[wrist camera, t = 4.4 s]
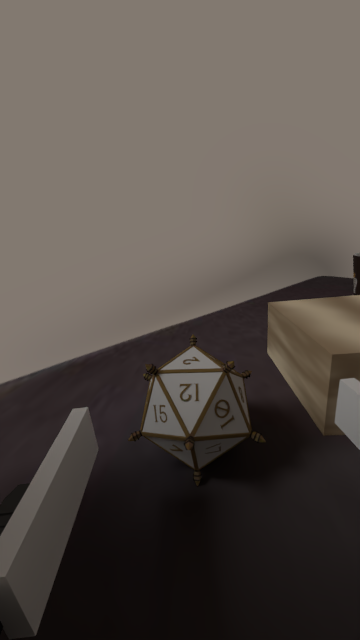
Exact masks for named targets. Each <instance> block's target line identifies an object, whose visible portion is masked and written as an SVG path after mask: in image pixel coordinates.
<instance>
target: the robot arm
mask: <svg viewBox="0 0 360 640" xmlns="http://www.w3.org/2000/svg"><path fill="white" fill-rule="evenodd" d="M335 424H336V425H337V426H338V427H339V428H340V429H341V430H342V431H343V432H344V433H345V435H346V436H347V437H348V438H349V439H350V440H351V441H352V442H353V443H354V444H355V445H356V447H357V448H358V449H359V450H360V382H359V381H358V380H357V379H355V378H348V379H340V382H339V390H338V398H337V406H336V415H335ZM98 450H99V449H98V445H97V441H96V437H95V433H94V429H93V425H92V421H91V417H90V413H89V410H88V407H86V408H77V409H73V410H72V412H71V413H70V415H69V417H68V418H67V420H66V422H65V424H64V425H63V427H62V429H61V431H60V432H59V434H58V436H57V438H56V439H55V441H54V443H53V445H52V446H51V448H50V450H49V452H48V453H47V455H46V457H45V459H44V460H43V462H42V464H41V466H40V467H39V469H38V471H37V473H36V474H35V476H34V478H33V480H32V481H31V483H29V484H20V485H18V486H17V487H16V488H15V489H14V490H13V491H12V492H11V493H10V494H9V495H8V496H7V497H6V498H5V499H4V500H3V502H2V504H1V505H0V633H1V631H2V629H3V630H4V631H5V633H6V635H7V636H8V638H9V639H15V638H23V637H31V636H36V634H37V631H38V628H39V625H40V622H41V619H42V616H43V613H44V610H45V607H46V604H47V601H48V598H49V595H50V592H51V589H52V586H53V583H54V580H55V577H56V574H57V571H58V568H59V565H60V562H61V559H62V556H63V553H64V550H65V548H66V545H67V542H68V539H69V536H70V533H71V530H72V527H73V524H74V521H75V518H76V515H77V512H78V509H79V506H80V503H81V500H82V497H83V494H84V491H85V488H86V485H87V482H88V479H89V476H90V473H91V470H92V467H93V464H94V462H95V459H96V456H97V453H98Z"/></svg>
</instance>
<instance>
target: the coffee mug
mask: <svg viewBox="0 0 360 640" xmlns="http://www.w3.org/2000/svg"><path fill="white" fill-rule="evenodd" d="M353 258H354V259H353V261H354V263H353V264H354V265H353V266H354V295H360V253H357V254H354V255H353Z"/></svg>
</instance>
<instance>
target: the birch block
mask: <svg viewBox="0 0 360 640" xmlns="http://www.w3.org/2000/svg"><path fill="white" fill-rule="evenodd" d="M268 354H269V356H270V357H271V359H272V360H273V362H274V363H275V365H276V366H277V368H278V369H279V371H280V372H281V374H282V375H283V376H284V378H285V379H286V381H287V382H288V384H289V385H290V387H291V388H292V390H293V391H294V393H295V394H296V396H297V397H298V399H299V400H300V402H301V403H302V405H303V406H304V407H305V409H306V410H307V412H308V413H309V415H310V416H311V418H312V419H313V421H314V422H315V424H316V425H317V427H318V428H319V430H320V431H321V433H322V434H323V436H326V435H345V433H344V432H343V431H342V430H341V429H340V428H339V427H338V426H337V425H336V424H335V415H336V406H337V398H338V390H339V382H340V379H348V378H355V379H357V380H358V381H359V382H360V295H354V296H342V297H330V298H318V299H306V300H294V301H281V302H269V303H268Z"/></svg>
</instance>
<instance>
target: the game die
mask: <svg viewBox="0 0 360 640" xmlns="http://www.w3.org/2000/svg"><path fill="white" fill-rule="evenodd" d="M196 339H197V338H196V337H195V336H194V334H193V335H192V336H191V338H190V343H191V346H190V347H188V348H187V349H186V350H184V351H183V352H181V353H180V354H178V355H177V356H176V357H174V358H173V359H171V360H170V361H168V362H167V363H165V364H164V365H163V366H161V367H160V368H158V369H156V366H153V364H145V365H146V370H147V372H150V374H153V375H152V376H151V375H149V373H146V374H143V375H144V378H145V380H147V381H148V380H149V381H150V383H149V388H148V393H147V398H146V403H145V408H144V413H143V418H142V423H141V428H140V431H138V432H136V431H135V433H132V435H131V436H130V438H129V440H128V441H136V440H137V439H139V438H140V437H141V436H144V437H145V438H147V439H148V440H150V441H151V442H153V443H154V444H156V445H157V446H159V447H160V448H162V449H163V450H165V451H166V452H168V453H170V454H171V455H173V456H174V457H176V458H177V459H179V460H180V461H182V462H183V463H185V464H186V465H188V466H189V467H191V468H192V469H194V470H195V472H194V474H193V475H194V478H193V480H194V481H195V483H196V485H197V487H198V485H199V483H200V481H201V480H202V478H201V475H202V474H201V473H200V469H202V468H203V467H205V466H206V465H208V464H209V463H211V462H212V461H214V460H215V459H217V458H218V457H220V456H221V455H223V454H224V453H226V452H227V451H229V450H230V449H232V448H233V447H235V446H236V445H238V444H239V443H241V442H242V441H244V440H245V439H247V438H248V437H252V438H253V440H255V441H257V443H258V442H266V441H265V440H264V438H263V437H262V435H261V434H259V433H258V432H253V431H252V428H251V422H250V416H249V409H248V403H247V397H246V391H245V385H244V378H247V377H250V374H251V372H252V371H247V370H246V371H245V372H242V374H240V373H238V372H236V371H235V370H233V368H234V367H235V366H234V361H232V362H228V361H227V362H226V364H224V363H222V362H221V361H219V360H218V359H216V358H214V357H213V356H211V355H210V354H208V353H207V352H205V351H203V350H202V349H200V348H199V347H197V346H196V342H197V341H196Z"/></svg>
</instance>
